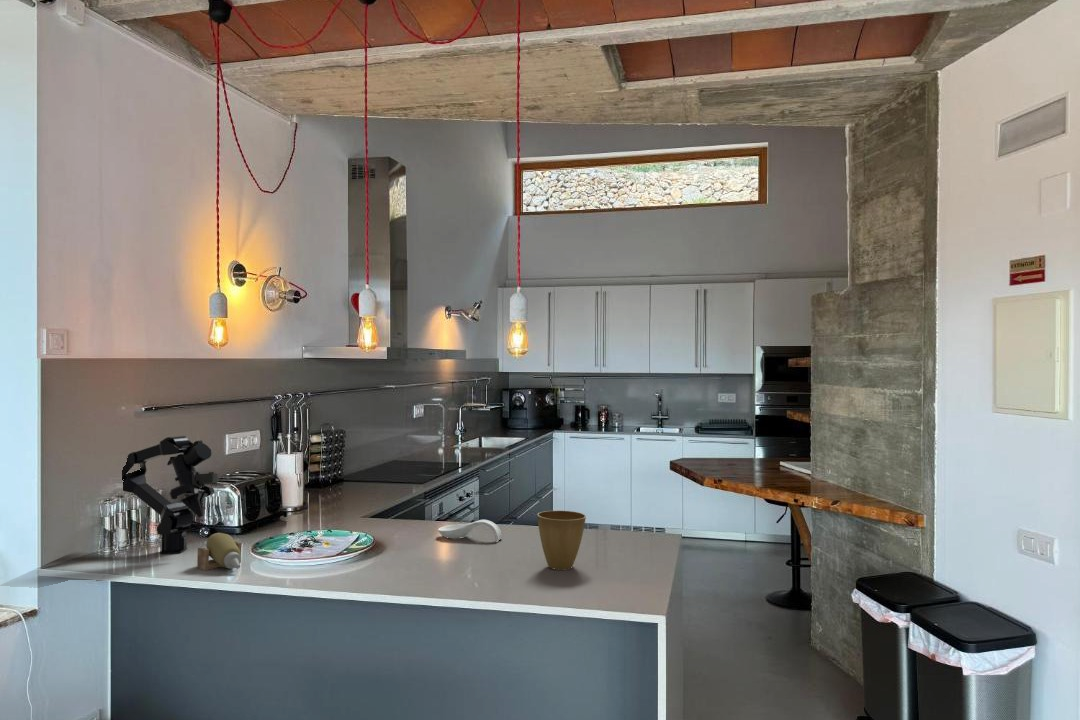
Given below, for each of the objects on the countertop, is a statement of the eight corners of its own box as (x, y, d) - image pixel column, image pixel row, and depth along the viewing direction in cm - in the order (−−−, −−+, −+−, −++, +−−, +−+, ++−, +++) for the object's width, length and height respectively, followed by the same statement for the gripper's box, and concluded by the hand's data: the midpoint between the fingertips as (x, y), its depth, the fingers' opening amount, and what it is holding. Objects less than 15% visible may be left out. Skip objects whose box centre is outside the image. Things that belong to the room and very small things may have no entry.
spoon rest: (432, 540, 253) (432, 519, 253) (446, 533, 264) (446, 514, 264) (494, 545, 246) (494, 524, 246) (506, 538, 257) (506, 518, 257)
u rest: (197, 567, 213) (197, 547, 213) (233, 559, 223) (233, 540, 223) (205, 570, 211) (205, 549, 211) (241, 562, 220) (241, 542, 220)
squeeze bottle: (204, 557, 219) (226, 584, 206) (200, 535, 216) (221, 560, 203) (231, 547, 224) (253, 572, 211) (227, 525, 221) (250, 549, 208)
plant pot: (550, 575, 208) (550, 521, 209) (529, 563, 222) (529, 512, 222) (594, 570, 215) (594, 517, 215) (571, 558, 228) (571, 508, 228)
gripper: (196, 459, 223) (212, 505, 220) (221, 464, 241) (237, 506, 238) (162, 474, 222) (177, 520, 219) (190, 478, 240) (205, 521, 237)
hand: (201, 516), depth 228 cm, fingers closed
